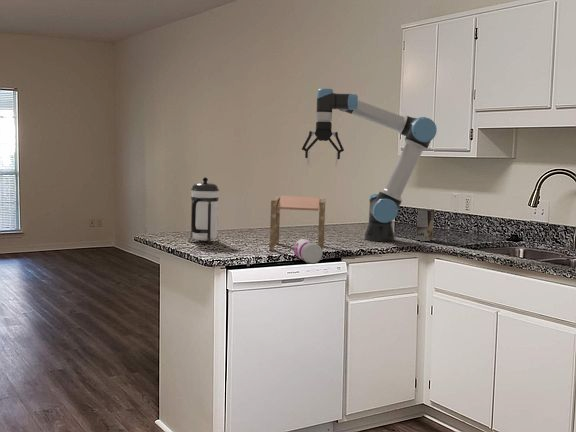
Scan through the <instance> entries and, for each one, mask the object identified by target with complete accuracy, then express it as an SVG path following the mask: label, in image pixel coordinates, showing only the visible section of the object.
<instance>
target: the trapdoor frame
mask: <svg viewBox="0 0 576 432" xmlns="http://www.w3.org/2000/svg"><path fill="white" fill-rule="evenodd" d="M280 197H281V196H275V197H274V198H272V199H271V201H270V222H269V224H270V227H269V228H270V229H269V251H270V250H271V251H270V252H272V251H273V252H275V249H276V248H275V247H276V246H275V245H279V244H280V225H281V224H280V223H281V222H280V221H281V220H280V219H281V209H277V206H278V203H279V200H280ZM318 211H319V213H318V235H317V237H318V239H317V245H319V246H320V247H321V249H322V251H323V247H324V245H325V243H324V242H325V221H326V219H325V218H326V198H323V197H322V198H321V197H320V204H319V210H318Z"/></svg>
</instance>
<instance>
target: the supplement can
mask: <svg viewBox="0 0 576 432" xmlns="http://www.w3.org/2000/svg"><path fill="white" fill-rule="evenodd" d="M293 252H294V254H295V256H296V257H297V258H298V259H300V260H302V261H304V262H305V263H306V264H310V265H314V264H318V262H320V261H321V259H322V257H323V254H324V252H323V250H322V249H321V247H320V246H319V245H318V243H315V242H313V241H311V240H309V239H307V238H300V239H298V240H297V241H296V242H295V244H294V246H293Z"/></svg>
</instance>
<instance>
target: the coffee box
mask: <svg viewBox="0 0 576 432" xmlns="http://www.w3.org/2000/svg"><path fill="white" fill-rule="evenodd" d="M416 220H417V221H416V237H415V238H416V239H415V240H420V241H419V242H422V241H429V240H432V239H433V238H434V237H433V236H434V223H435V221H434V220H435V209H433V208H420V209H417V219H416ZM432 241H433V240H432ZM429 242H430V241H429Z"/></svg>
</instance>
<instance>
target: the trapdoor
mask: <svg viewBox="0 0 576 432" xmlns="http://www.w3.org/2000/svg"><path fill="white" fill-rule="evenodd" d="M279 197H280V200H279V203H278V206H277V209H280V210H290V211H313V212H314V211H316V212H318V211H319V205H320V198H321V197H320V196H303V195H302V196H301V195H299V196H298V195H280V196H279Z"/></svg>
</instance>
